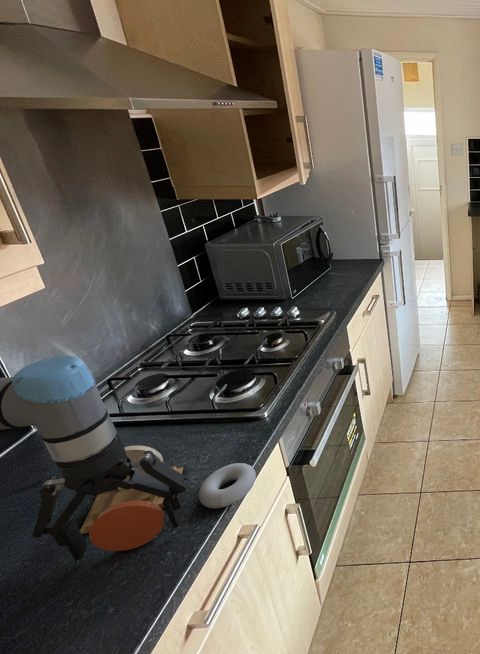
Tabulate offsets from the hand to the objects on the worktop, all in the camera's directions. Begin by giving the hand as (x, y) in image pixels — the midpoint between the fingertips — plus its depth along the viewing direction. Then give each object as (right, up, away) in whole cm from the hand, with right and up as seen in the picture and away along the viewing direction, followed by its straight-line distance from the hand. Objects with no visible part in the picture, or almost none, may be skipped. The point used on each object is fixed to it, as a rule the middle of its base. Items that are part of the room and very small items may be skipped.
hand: (131, 536), depth 75 cm
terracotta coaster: (0, -2, +1) cm, 2 cm away
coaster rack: (-8, +1, +10) cm, 13 cm away
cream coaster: (-9, +3, +12) cm, 15 cm away
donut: (+10, +2, +12) cm, 16 cm away
